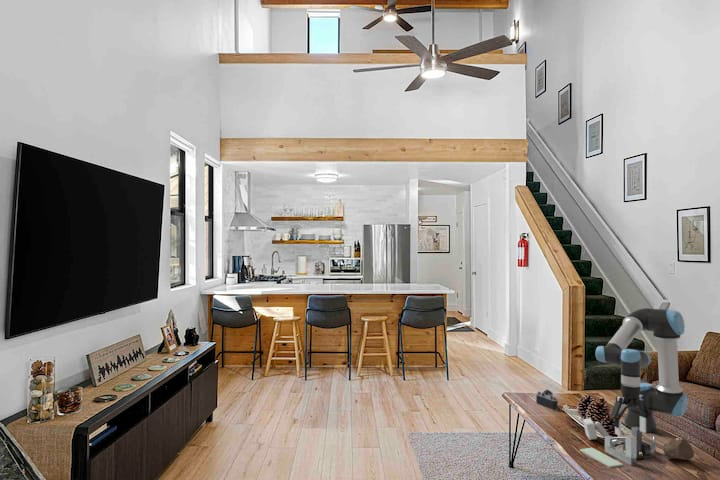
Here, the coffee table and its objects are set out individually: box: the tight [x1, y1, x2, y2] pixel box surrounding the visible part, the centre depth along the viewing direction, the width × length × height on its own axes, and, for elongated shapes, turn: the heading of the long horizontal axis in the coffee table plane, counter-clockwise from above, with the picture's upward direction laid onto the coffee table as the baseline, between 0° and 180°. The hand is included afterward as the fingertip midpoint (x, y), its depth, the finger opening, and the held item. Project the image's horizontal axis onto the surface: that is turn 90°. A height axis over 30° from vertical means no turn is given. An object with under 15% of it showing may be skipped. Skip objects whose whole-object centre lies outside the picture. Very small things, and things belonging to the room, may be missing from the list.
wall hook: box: [582, 418, 610, 441], centre depth 237 cm, size 8×10×10 cm
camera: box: [535, 389, 559, 411], centre depth 287 cm, size 16×8×10 cm, turn 25°
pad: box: [579, 447, 624, 469], centre depth 215 cm, size 7×18×1 cm, turn 16°
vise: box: [611, 427, 657, 460], centre depth 220 cm, size 24×8×12 cm, turn 106°
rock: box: [662, 437, 695, 461], centre depth 215 cm, size 12×10×10 cm
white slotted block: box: [604, 434, 638, 466], centre depth 216 cm, size 3×15×12 cm, turn 16°
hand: (630, 433), depth 210 cm, fingers open, 13 cm apart
